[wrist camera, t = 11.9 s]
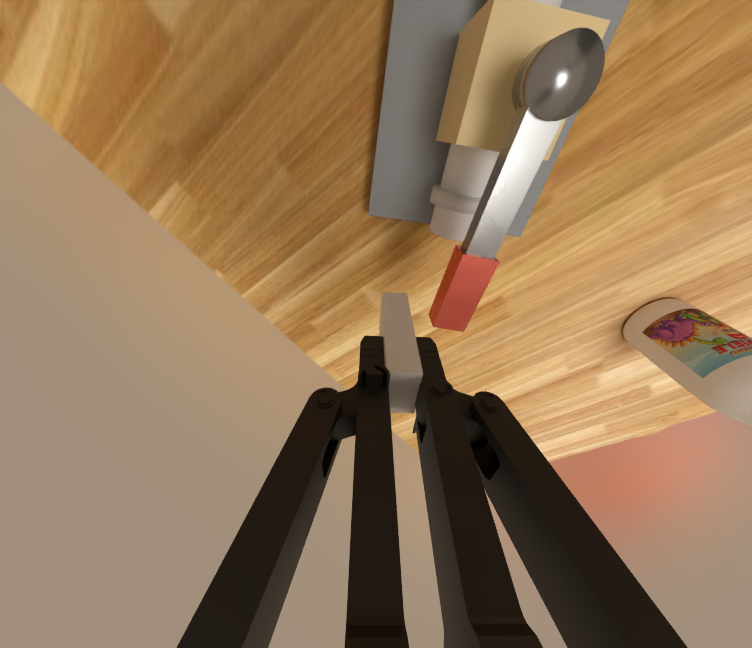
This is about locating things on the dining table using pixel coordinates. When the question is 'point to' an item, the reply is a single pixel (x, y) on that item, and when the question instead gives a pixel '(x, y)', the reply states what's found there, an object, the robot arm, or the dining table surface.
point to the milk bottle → (697, 354)
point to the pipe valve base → (463, 102)
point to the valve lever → (518, 163)
